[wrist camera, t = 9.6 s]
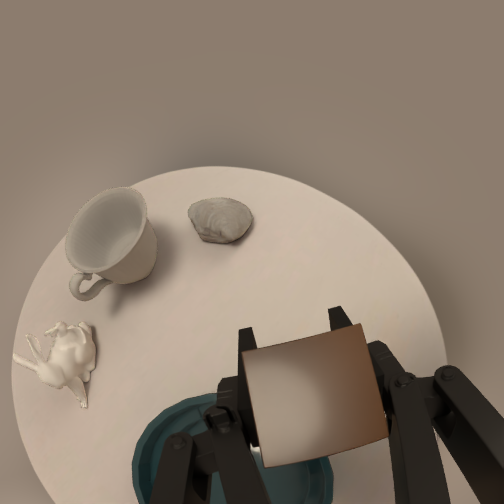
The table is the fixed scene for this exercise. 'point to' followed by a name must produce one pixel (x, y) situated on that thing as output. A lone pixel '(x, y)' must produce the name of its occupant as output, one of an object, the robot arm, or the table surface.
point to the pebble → (220, 219)
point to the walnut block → (314, 397)
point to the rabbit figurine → (64, 358)
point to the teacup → (111, 241)
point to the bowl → (275, 479)
